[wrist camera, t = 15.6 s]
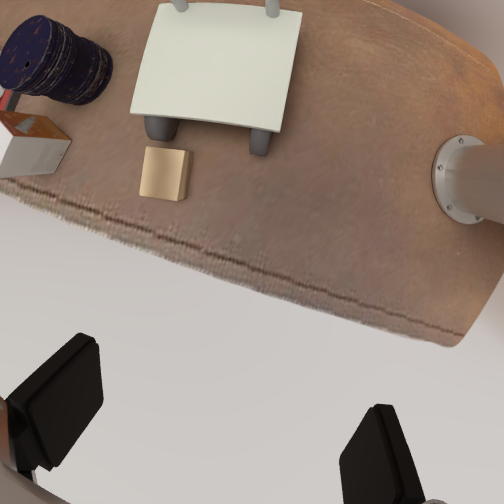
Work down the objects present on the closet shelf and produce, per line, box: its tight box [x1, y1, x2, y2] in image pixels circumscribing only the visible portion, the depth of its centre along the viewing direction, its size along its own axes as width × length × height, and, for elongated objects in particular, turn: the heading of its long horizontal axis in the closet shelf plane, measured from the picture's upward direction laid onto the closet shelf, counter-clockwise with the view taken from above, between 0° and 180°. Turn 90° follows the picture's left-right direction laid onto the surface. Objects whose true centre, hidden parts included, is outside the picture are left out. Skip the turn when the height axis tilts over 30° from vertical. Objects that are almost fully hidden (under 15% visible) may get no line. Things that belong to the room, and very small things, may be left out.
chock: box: [140, 147, 193, 201], centre depth 37 cm, size 5×6×4 cm
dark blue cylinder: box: [0, 15, 113, 105], centre depth 29 cm, size 10×10×15 cm
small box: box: [0, 110, 72, 178], centre depth 33 cm, size 8×6×13 cm
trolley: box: [130, 0, 302, 156], centre depth 24 cm, size 16×19×23 cm
